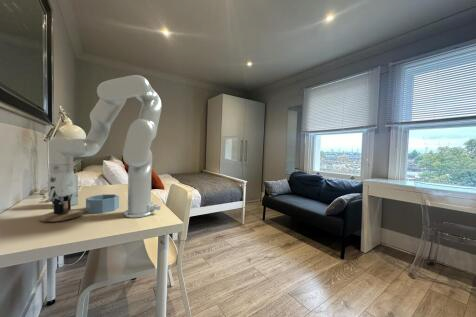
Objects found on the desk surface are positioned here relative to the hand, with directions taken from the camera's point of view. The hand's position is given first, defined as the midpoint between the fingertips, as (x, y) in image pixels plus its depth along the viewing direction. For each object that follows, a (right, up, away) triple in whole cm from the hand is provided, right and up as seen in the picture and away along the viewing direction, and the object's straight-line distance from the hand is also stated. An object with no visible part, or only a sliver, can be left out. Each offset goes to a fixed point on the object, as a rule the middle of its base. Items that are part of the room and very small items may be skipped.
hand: (62, 211), depth 83 cm
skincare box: (-14, -2, +17) cm, 22 cm away
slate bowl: (+8, -2, +13) cm, 15 cm away
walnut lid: (0, -2, 0) cm, 2 cm away
